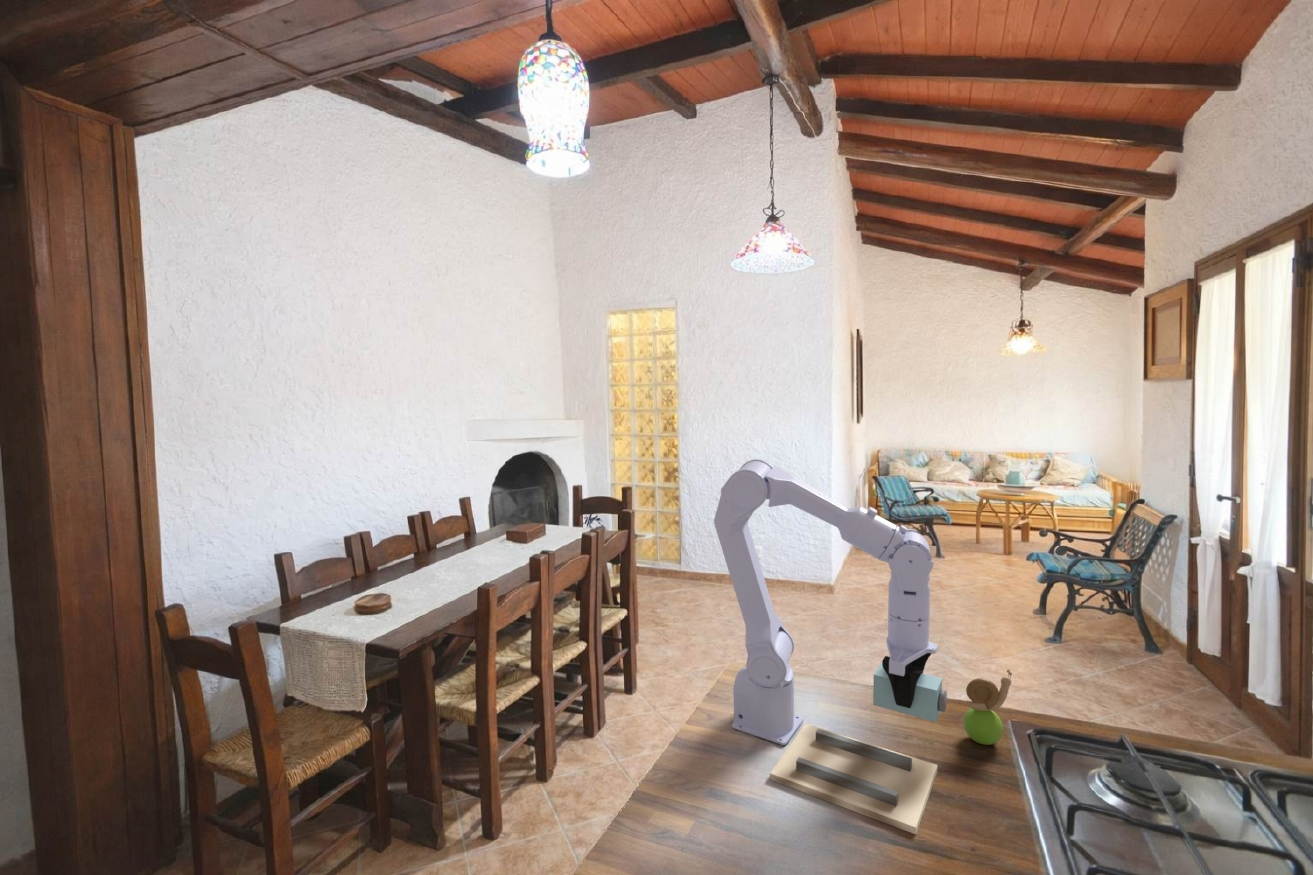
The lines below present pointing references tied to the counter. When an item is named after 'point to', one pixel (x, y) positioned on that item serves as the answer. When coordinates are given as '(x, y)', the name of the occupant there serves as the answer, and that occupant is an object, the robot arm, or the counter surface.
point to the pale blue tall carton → (925, 699)
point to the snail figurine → (985, 709)
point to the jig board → (858, 776)
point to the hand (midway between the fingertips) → (907, 698)
